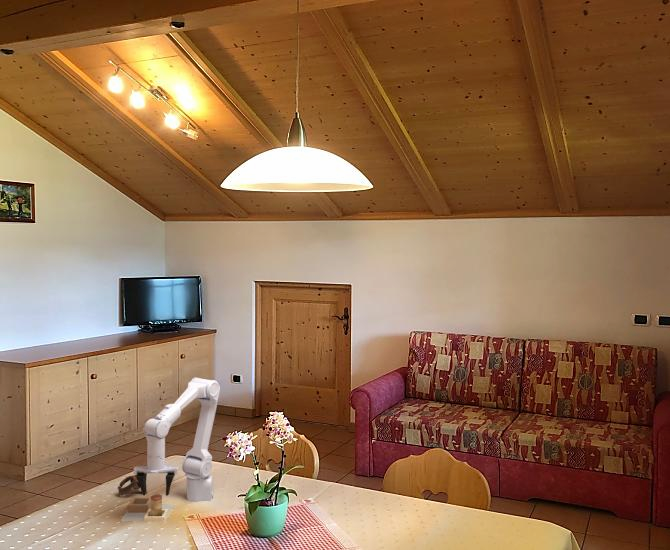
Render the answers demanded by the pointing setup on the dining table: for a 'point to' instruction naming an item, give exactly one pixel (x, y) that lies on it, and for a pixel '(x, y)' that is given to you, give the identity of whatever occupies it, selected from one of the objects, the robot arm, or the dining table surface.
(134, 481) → the brown curved piece
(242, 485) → the dining table surface
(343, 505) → the dining table surface
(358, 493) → the dining table surface
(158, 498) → the pin
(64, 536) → the dining table surface
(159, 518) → the mount
